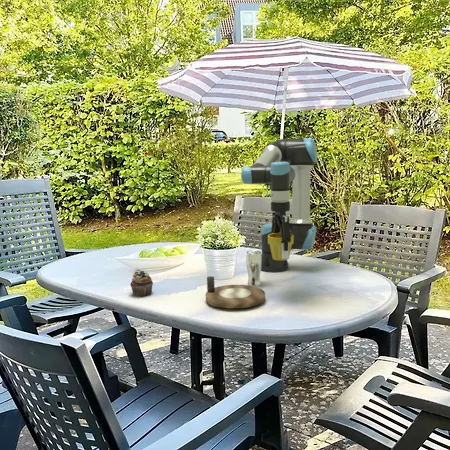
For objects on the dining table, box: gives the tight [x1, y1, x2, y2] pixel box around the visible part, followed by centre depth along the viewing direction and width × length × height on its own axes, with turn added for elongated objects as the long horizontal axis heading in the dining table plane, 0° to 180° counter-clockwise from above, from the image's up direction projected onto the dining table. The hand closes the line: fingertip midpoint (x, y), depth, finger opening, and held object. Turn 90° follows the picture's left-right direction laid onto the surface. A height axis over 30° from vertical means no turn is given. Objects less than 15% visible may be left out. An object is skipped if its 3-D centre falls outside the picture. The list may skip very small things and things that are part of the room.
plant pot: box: [268, 233, 294, 261], centre depth 192 cm, size 10×10×10 cm
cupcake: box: [130, 270, 154, 298], centre depth 205 cm, size 10×10×10 cm
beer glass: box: [245, 249, 262, 287], centre depth 214 cm, size 7×7×15 cm
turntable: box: [205, 275, 266, 309], centre depth 192 cm, size 24×24×8 cm
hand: (280, 255), depth 193 cm, fingers closed on plant pot, 10 cm apart
